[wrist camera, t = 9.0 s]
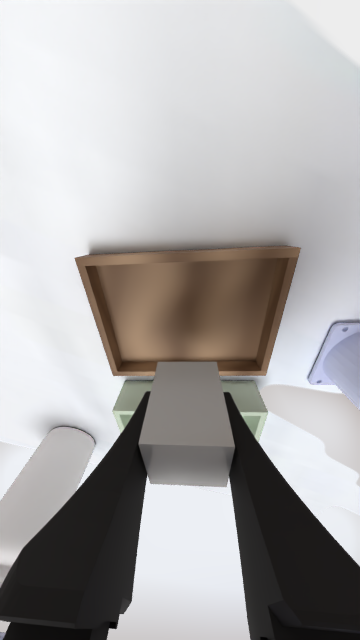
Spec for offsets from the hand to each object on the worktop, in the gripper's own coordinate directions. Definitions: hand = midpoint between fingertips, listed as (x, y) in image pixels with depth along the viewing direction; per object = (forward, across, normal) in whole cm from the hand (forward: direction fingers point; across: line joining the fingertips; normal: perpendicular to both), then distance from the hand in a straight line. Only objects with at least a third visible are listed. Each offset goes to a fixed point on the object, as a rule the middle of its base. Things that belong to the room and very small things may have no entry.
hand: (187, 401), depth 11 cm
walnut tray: (+8, 0, -2) cm, 8 cm away
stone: (+2, 0, 0) cm, 2 cm away
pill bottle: (+8, +20, +20) cm, 30 cm away
